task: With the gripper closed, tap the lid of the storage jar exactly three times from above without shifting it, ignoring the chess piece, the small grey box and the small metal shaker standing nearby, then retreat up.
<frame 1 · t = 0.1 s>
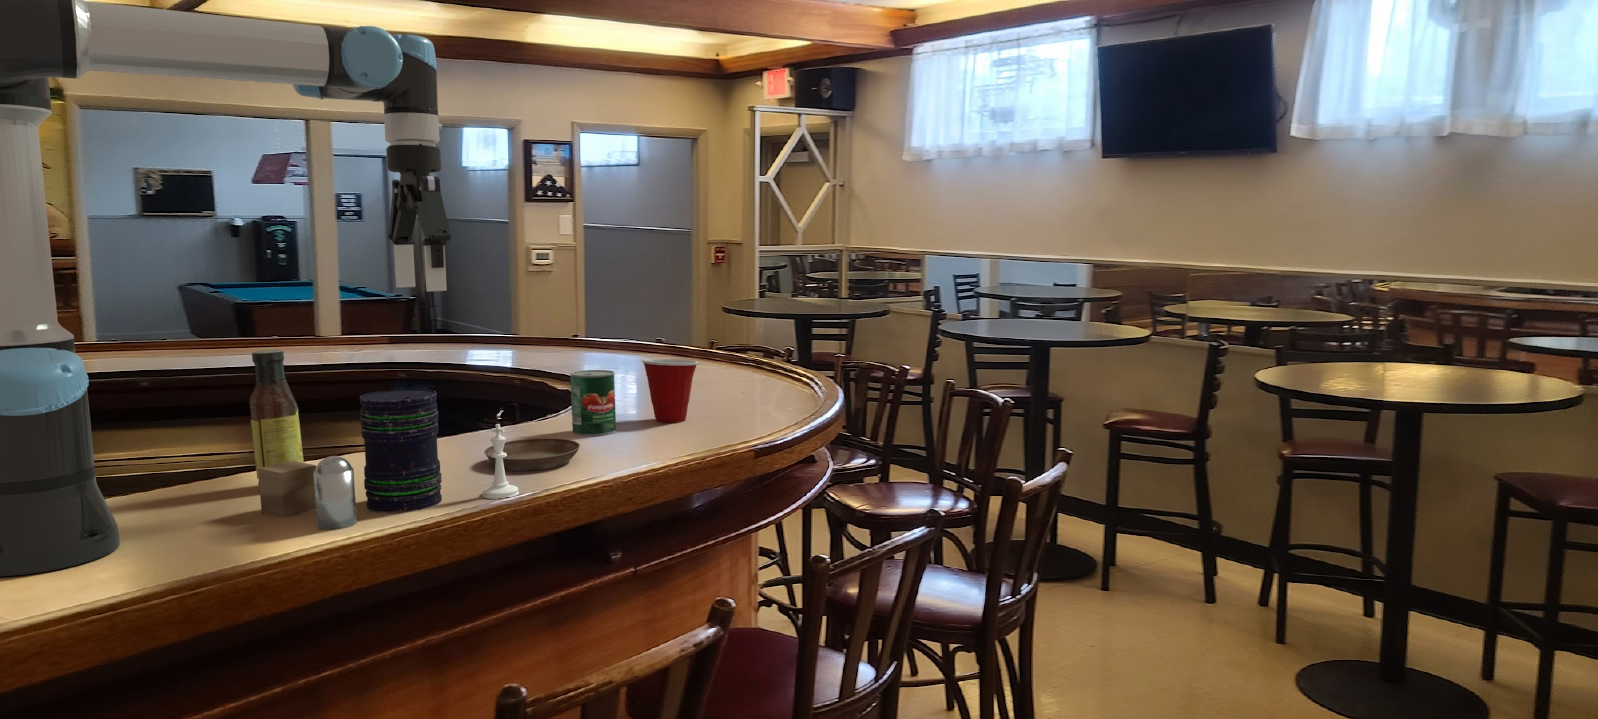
hand: (420, 289, 156), 28 cm above the bar counter, fingers open, 13 cm apart
saucer: (533, 465, 166), on the bar counter
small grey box: (290, 510, 139), on the bar counter
chess piece: (500, 495, 146), on the bar counter
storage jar: (404, 504, 142), on the bar counter
metal shaker: (337, 524, 132), on the bar counter
canned tomato: (594, 433, 190), on the bar counter
plastic cup: (671, 421, 201), on the bar counter
sauce bottle: (280, 487, 151), on the bar counter
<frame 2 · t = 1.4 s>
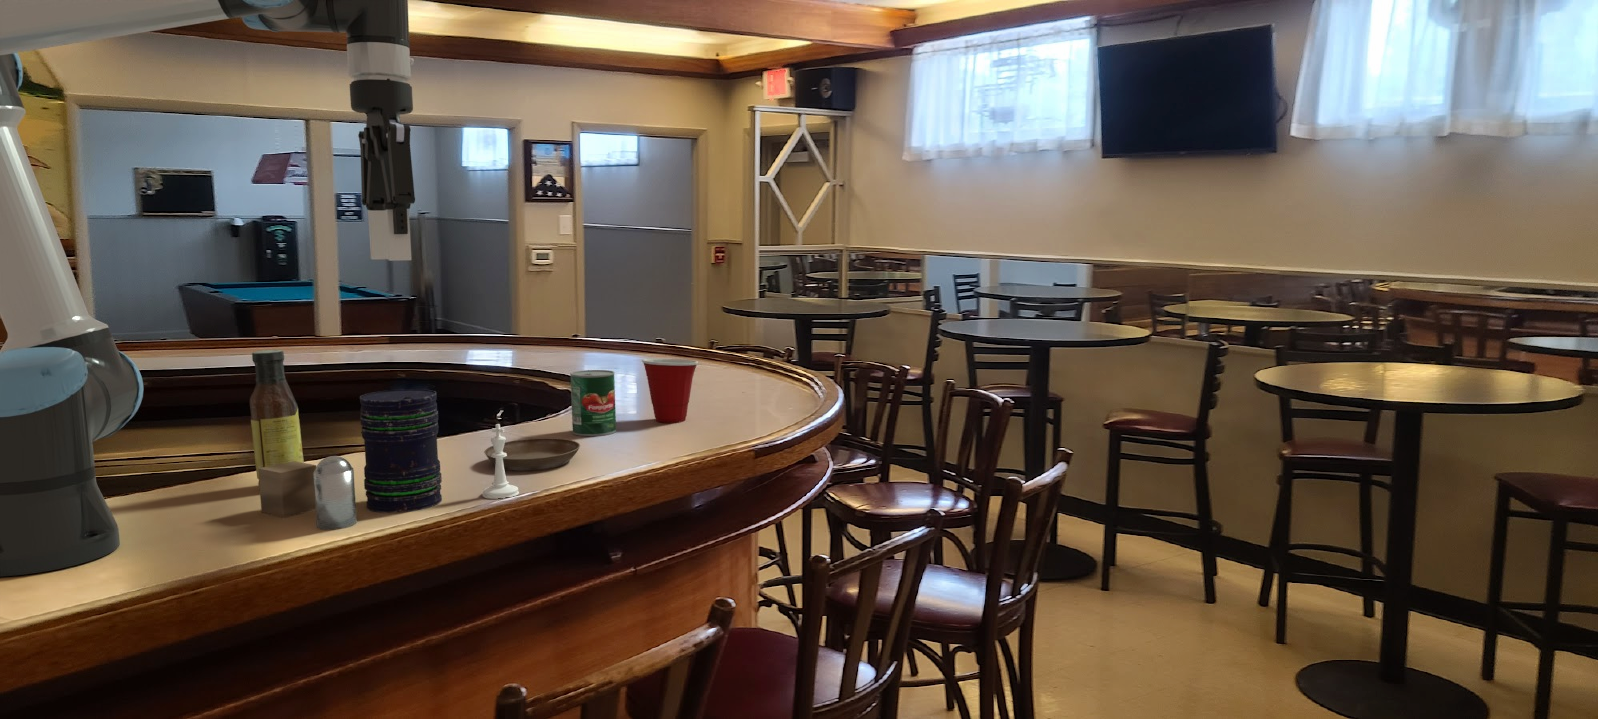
hand: (390, 259, 138), 33 cm above the bar counter, fingers open, 7 cm apart
nothing on the bar counter moved.
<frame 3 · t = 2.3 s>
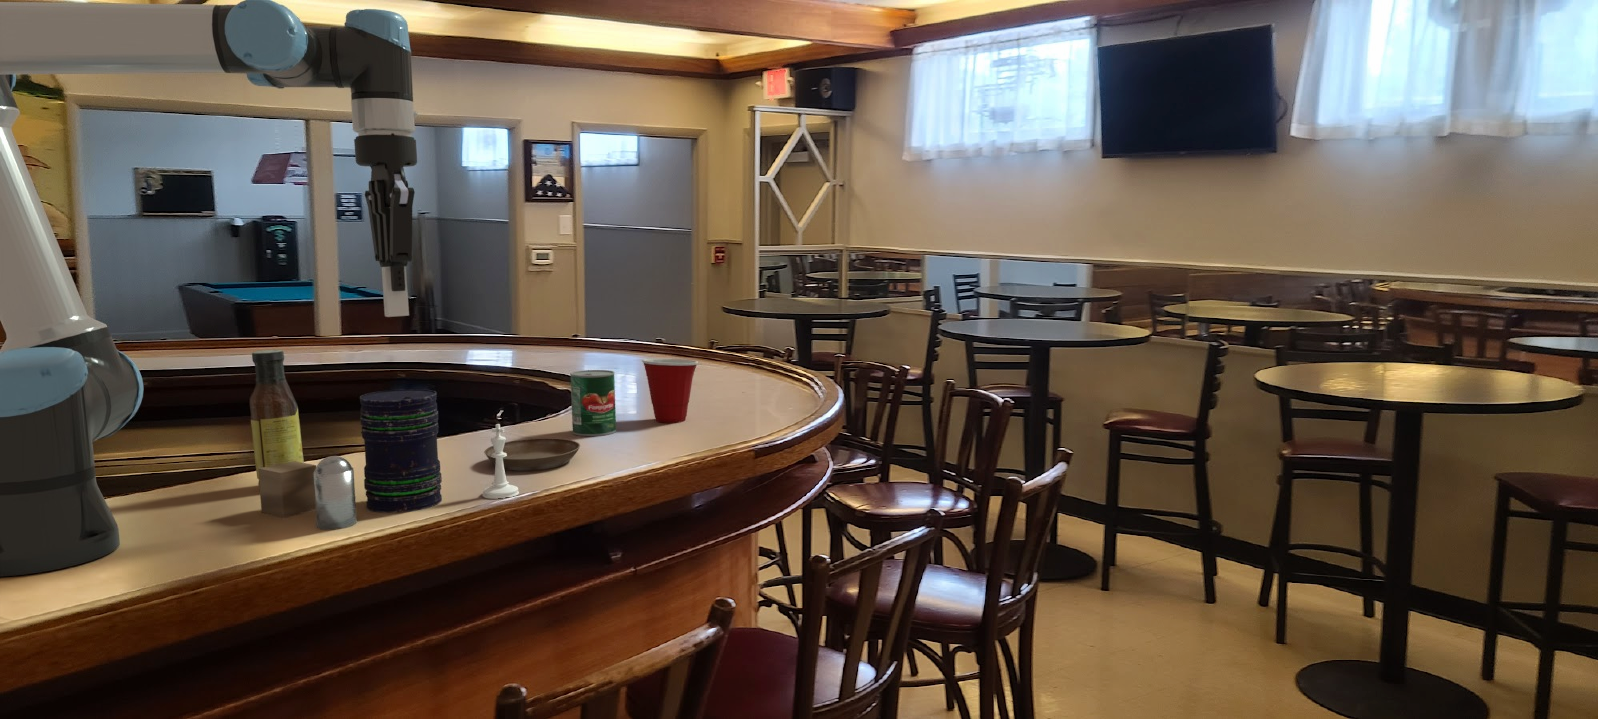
hand: (396, 315, 139), 26 cm above the bar counter, fingers closed
nothing on the bar counter moved.
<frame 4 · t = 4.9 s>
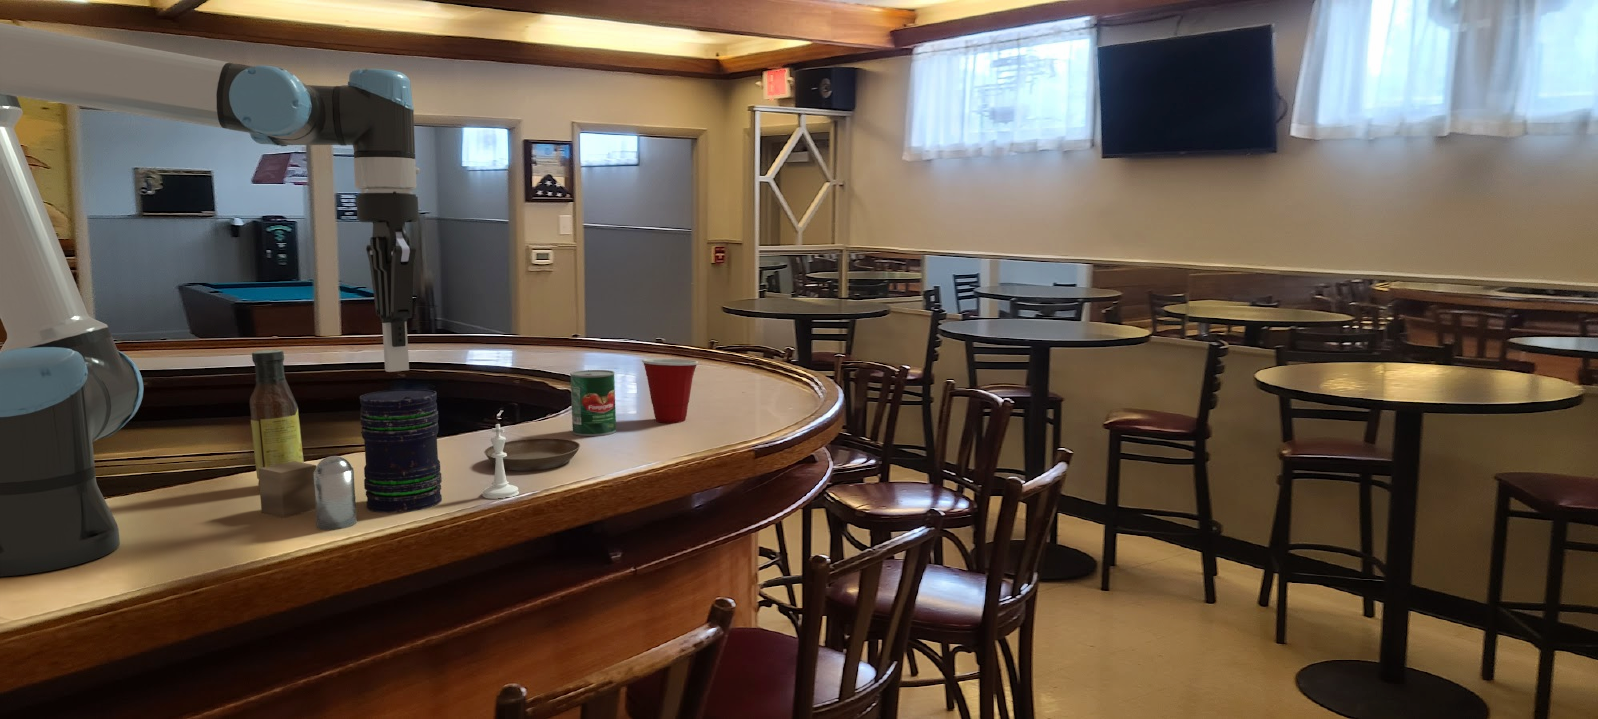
hand: (397, 370, 139), 18 cm above the bar counter, fingers closed
nothing on the bar counter moved.
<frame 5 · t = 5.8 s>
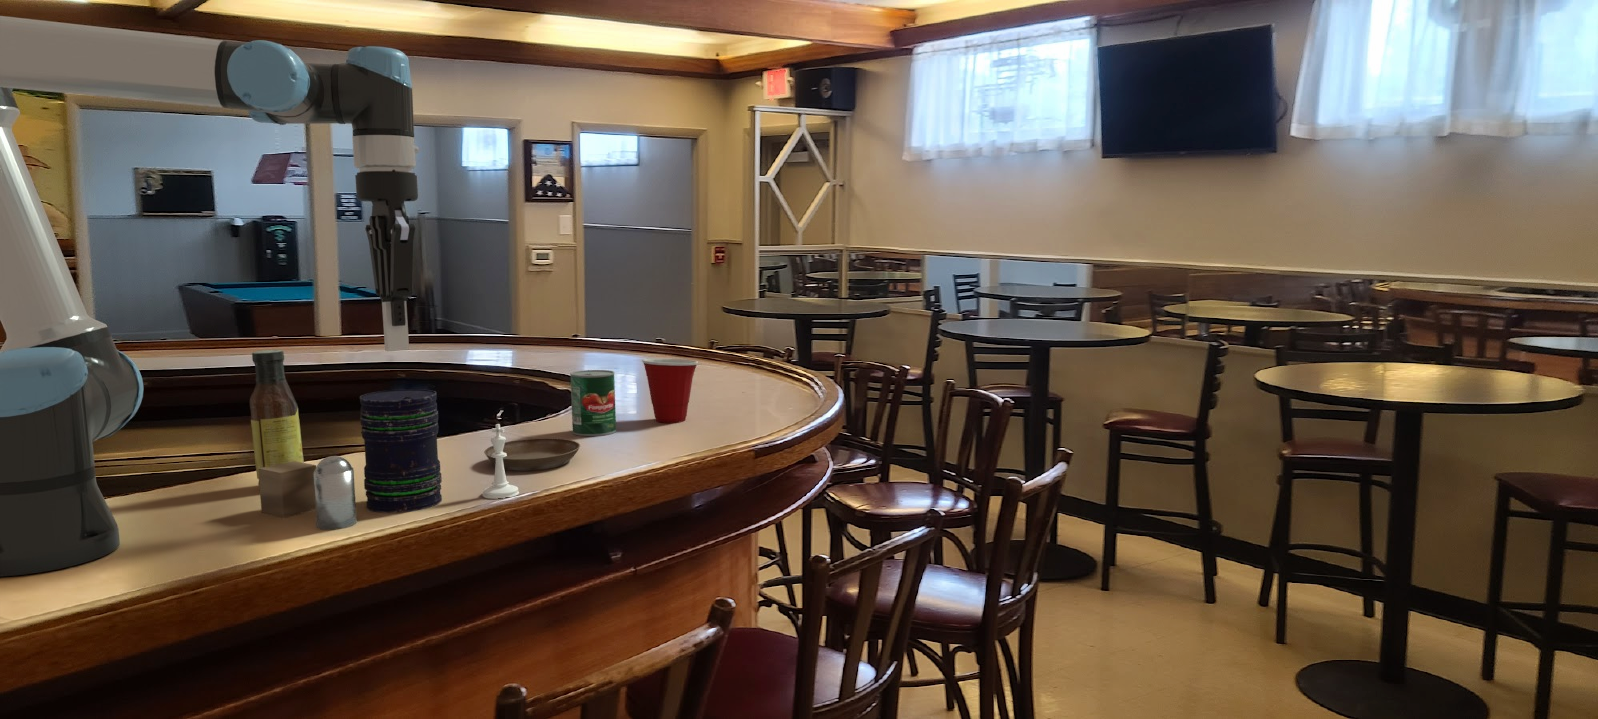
hand: (397, 349, 139), 21 cm above the bar counter, fingers closed
nothing on the bar counter moved.
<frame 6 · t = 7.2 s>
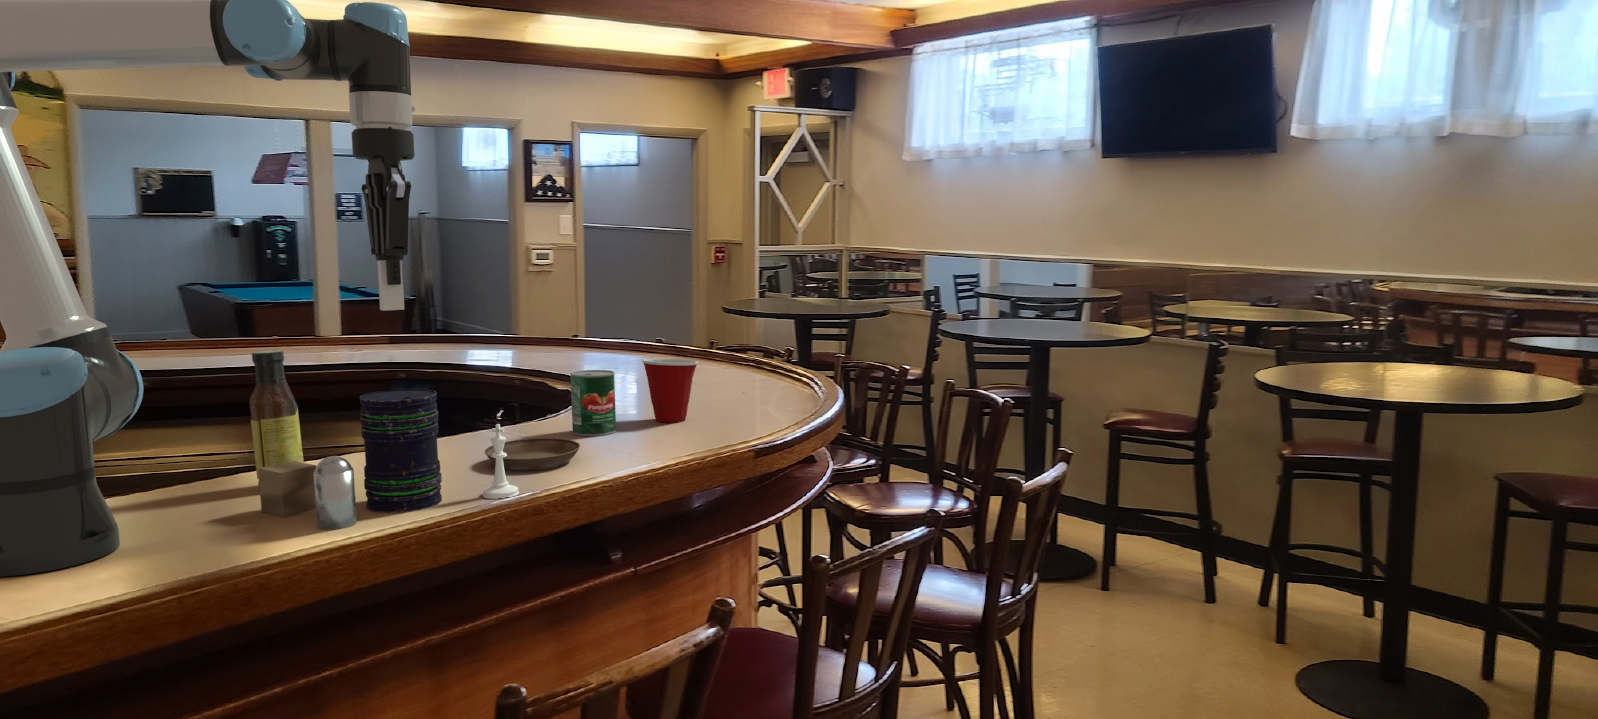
hand: (392, 309, 138), 26 cm above the bar counter, fingers closed
nothing on the bar counter moved.
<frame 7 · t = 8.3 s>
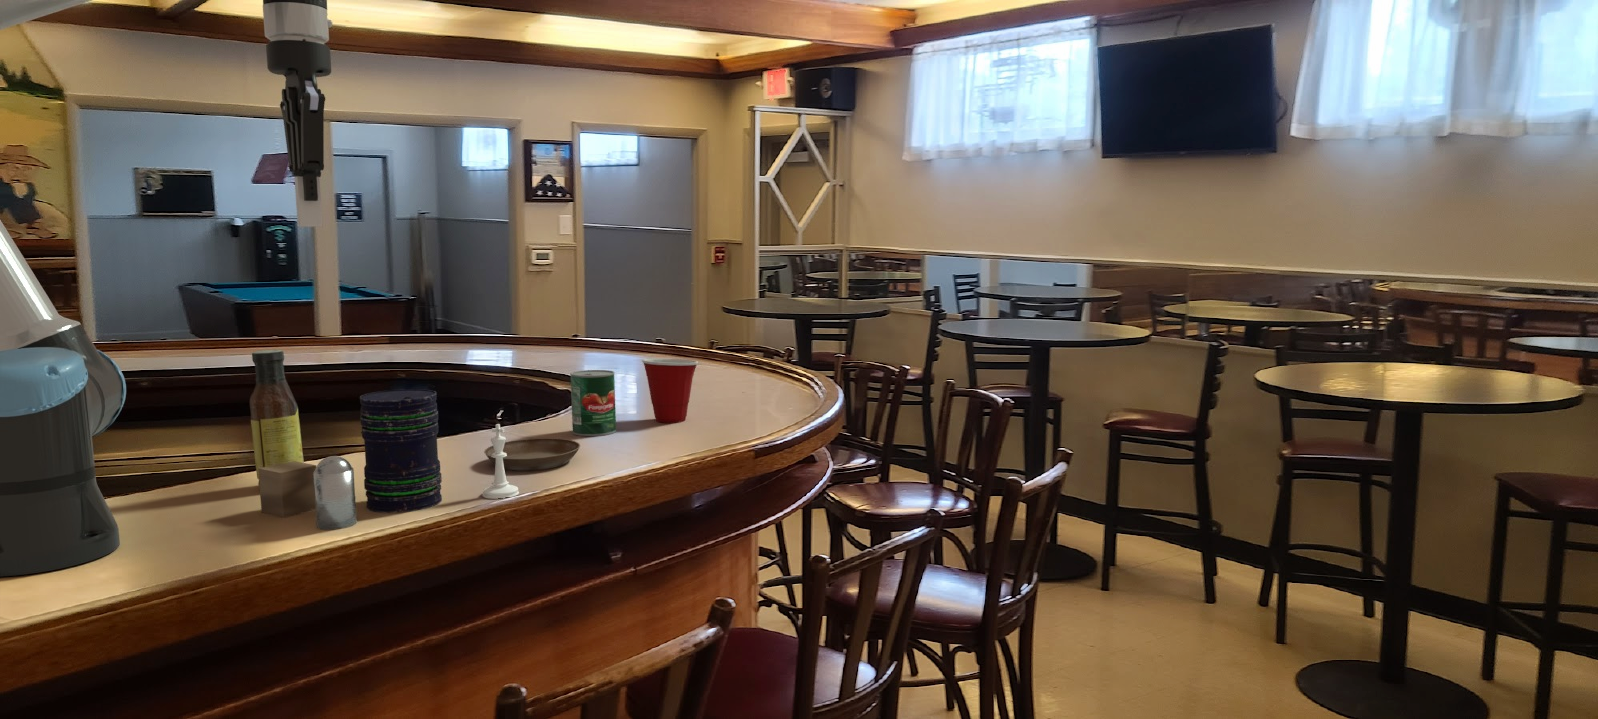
hand: (310, 226, 138), 37 cm above the bar counter, fingers closed
nothing on the bar counter moved.
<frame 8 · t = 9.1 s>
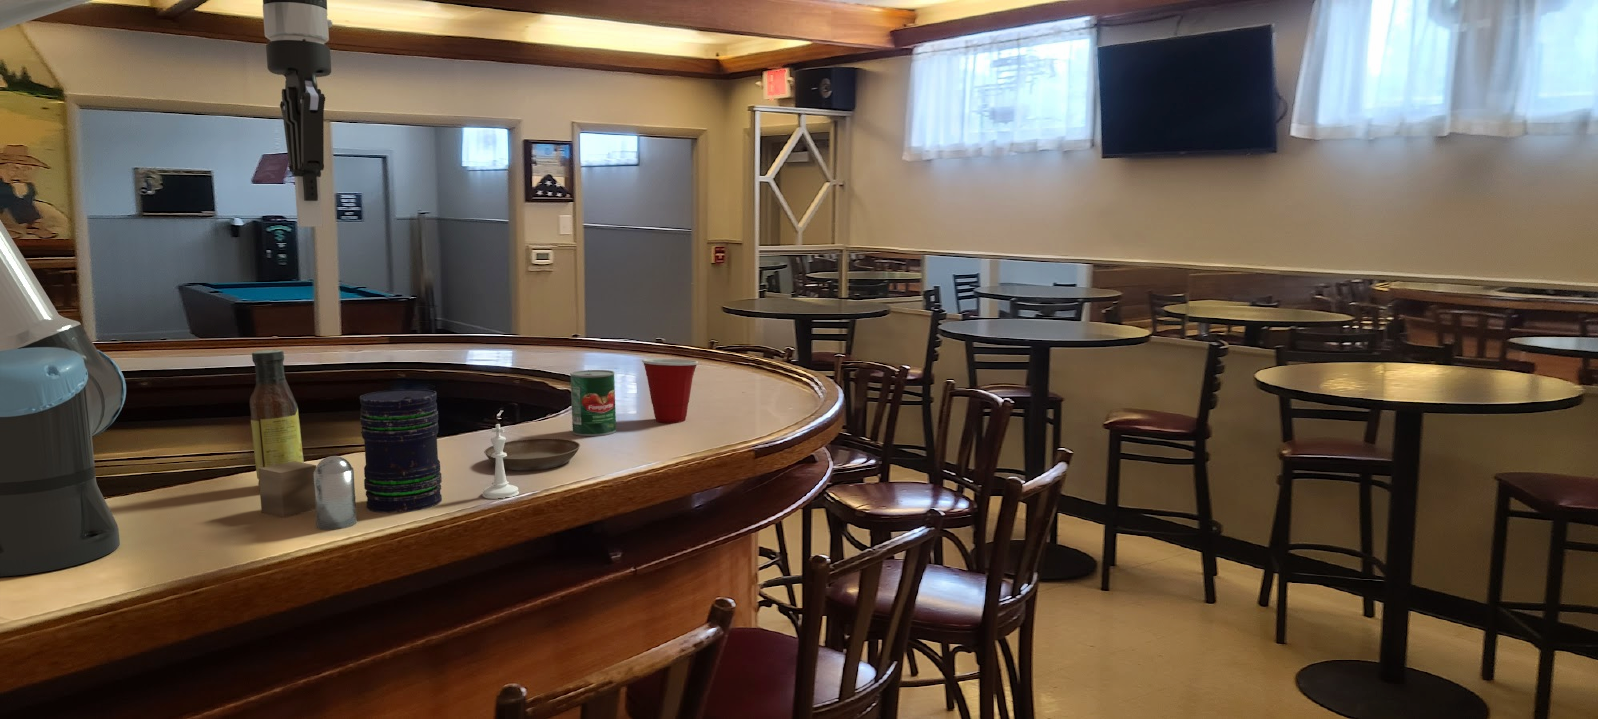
hand: (310, 226, 138), 37 cm above the bar counter, fingers closed
nothing on the bar counter moved.
at the end: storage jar moved 0.2 cm from its start; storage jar tilted 0°; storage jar touching bar counter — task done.
